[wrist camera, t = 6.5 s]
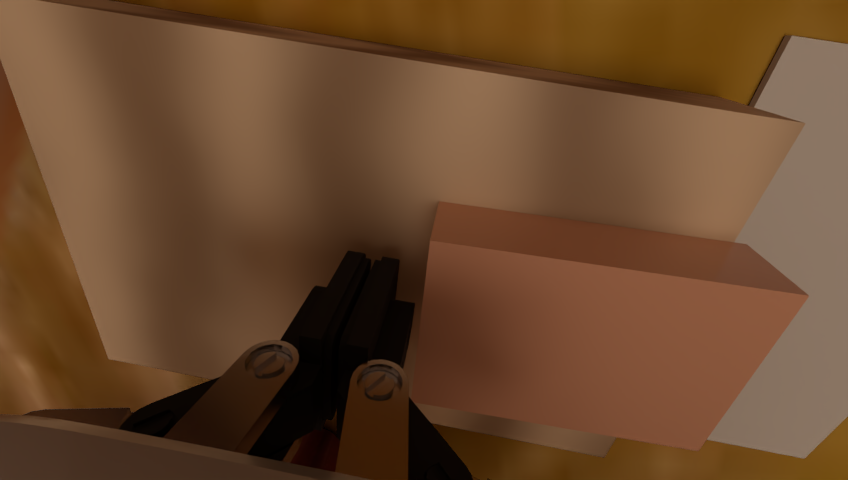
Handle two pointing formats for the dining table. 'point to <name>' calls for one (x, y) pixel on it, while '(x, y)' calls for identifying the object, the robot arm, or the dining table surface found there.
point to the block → (593, 324)
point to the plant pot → (318, 450)
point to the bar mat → (802, 257)
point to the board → (334, 169)
